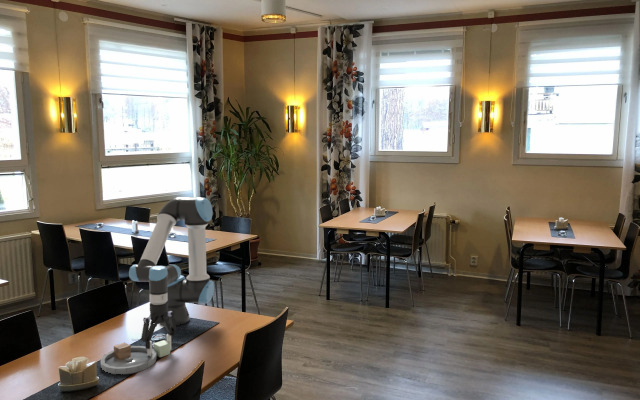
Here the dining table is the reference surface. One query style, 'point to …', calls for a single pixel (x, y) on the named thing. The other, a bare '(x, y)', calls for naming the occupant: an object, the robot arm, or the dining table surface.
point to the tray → (128, 361)
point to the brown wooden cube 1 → (122, 351)
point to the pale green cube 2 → (162, 348)
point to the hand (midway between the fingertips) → (159, 352)
